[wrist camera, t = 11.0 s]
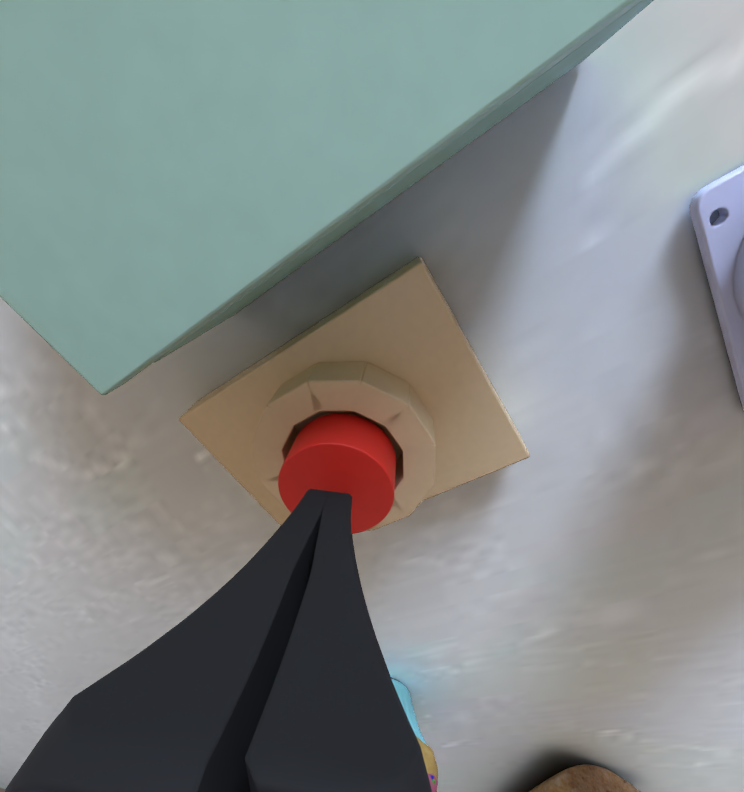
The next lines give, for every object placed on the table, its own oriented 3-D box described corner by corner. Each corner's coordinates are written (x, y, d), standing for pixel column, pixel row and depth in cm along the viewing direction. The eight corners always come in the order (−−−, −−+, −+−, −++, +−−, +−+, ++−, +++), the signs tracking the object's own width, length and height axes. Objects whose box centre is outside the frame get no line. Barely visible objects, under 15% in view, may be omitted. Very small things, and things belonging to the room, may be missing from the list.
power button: (415, 474, 14) (416, 510, 12) (332, 510, 15) (323, 548, 14) (358, 394, 13) (350, 423, 11) (272, 441, 14) (253, 473, 12)
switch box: (520, 434, 17) (545, 486, 13) (311, 525, 20) (293, 582, 17) (420, 255, 14) (423, 268, 10) (197, 400, 17) (150, 443, 14)
